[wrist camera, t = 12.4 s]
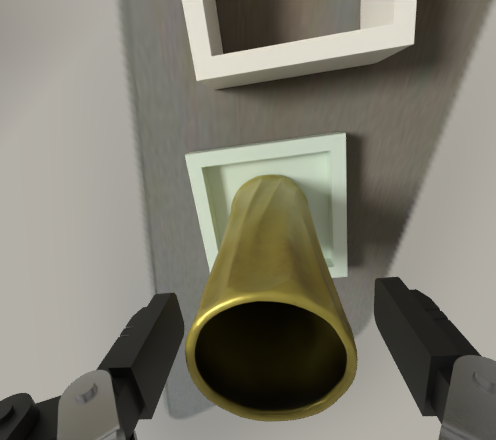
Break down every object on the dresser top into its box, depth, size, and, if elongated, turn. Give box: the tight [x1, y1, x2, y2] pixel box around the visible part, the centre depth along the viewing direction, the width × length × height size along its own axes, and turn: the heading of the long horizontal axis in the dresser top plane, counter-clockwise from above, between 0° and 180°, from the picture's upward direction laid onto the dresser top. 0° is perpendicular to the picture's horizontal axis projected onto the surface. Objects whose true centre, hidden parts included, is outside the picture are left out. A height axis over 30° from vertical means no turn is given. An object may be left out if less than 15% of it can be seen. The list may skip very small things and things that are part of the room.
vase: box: [185, 174, 357, 421], centre depth 15 cm, size 6×6×14 cm
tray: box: [185, 132, 347, 278], centre depth 21 cm, size 11×11×2 cm
